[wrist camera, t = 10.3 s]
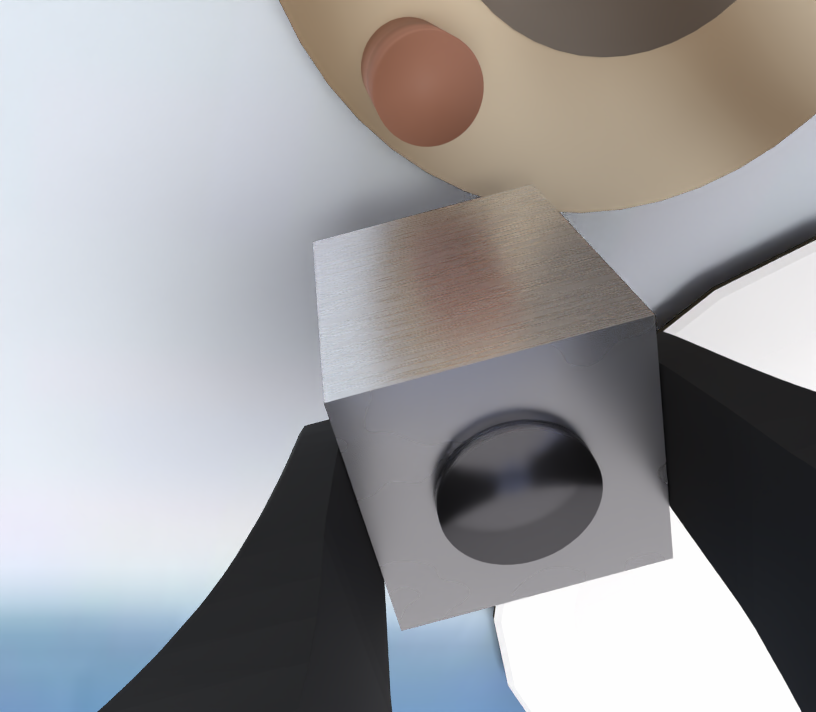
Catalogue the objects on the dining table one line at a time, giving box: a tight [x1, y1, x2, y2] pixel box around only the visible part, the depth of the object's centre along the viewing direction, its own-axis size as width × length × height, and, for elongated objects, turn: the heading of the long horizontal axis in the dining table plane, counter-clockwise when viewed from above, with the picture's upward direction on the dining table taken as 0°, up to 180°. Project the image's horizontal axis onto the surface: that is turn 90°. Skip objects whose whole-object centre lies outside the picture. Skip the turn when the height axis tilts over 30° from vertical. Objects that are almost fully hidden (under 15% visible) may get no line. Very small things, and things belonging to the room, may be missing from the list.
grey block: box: [313, 184, 673, 631], centre depth 14 cm, size 4×4×6 cm
